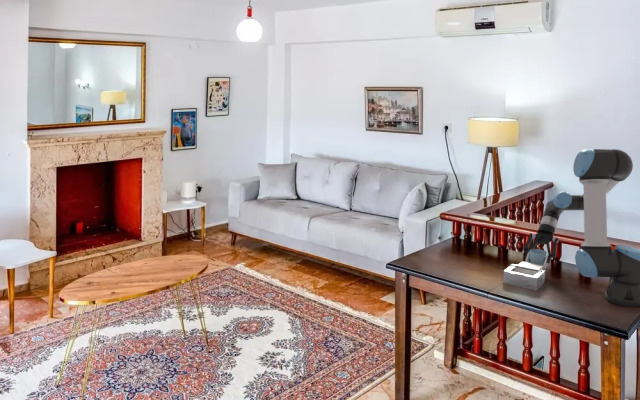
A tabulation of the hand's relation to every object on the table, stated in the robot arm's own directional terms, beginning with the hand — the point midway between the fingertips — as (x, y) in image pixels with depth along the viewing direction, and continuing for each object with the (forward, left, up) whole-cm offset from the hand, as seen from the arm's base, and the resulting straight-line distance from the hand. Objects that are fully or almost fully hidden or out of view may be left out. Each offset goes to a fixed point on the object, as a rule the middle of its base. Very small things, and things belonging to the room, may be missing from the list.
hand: (534, 266), depth 268 cm
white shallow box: (-4, +8, -2) cm, 9 cm away
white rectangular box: (-6, +14, -4) cm, 16 cm away
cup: (+1, -3, -4) cm, 5 cm away
